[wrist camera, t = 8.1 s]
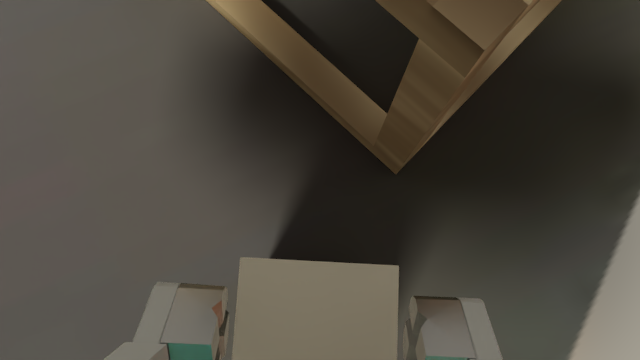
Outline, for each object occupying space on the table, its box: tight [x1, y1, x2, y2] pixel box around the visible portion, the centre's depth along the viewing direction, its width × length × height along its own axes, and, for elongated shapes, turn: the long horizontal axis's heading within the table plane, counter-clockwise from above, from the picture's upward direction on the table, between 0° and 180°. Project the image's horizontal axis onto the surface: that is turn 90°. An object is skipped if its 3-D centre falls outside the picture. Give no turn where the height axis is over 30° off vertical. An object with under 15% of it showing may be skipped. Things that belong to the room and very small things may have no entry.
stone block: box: [232, 257, 399, 360], centre depth 18 cm, size 4×4×8 cm
